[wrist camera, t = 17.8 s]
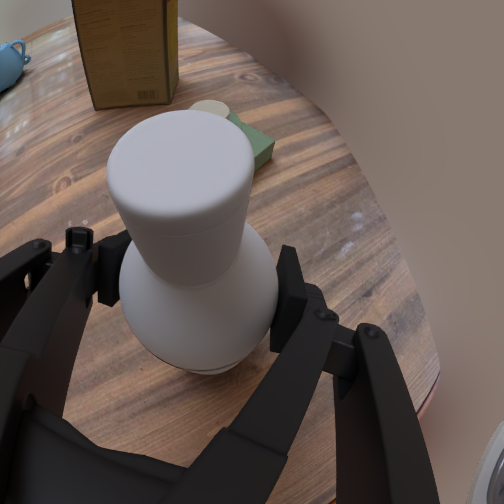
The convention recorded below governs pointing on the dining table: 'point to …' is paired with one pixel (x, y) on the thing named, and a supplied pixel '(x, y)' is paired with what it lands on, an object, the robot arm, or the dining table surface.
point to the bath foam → (191, 241)
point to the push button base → (255, 141)
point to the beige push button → (212, 108)
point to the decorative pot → (11, 63)
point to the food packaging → (128, 50)
